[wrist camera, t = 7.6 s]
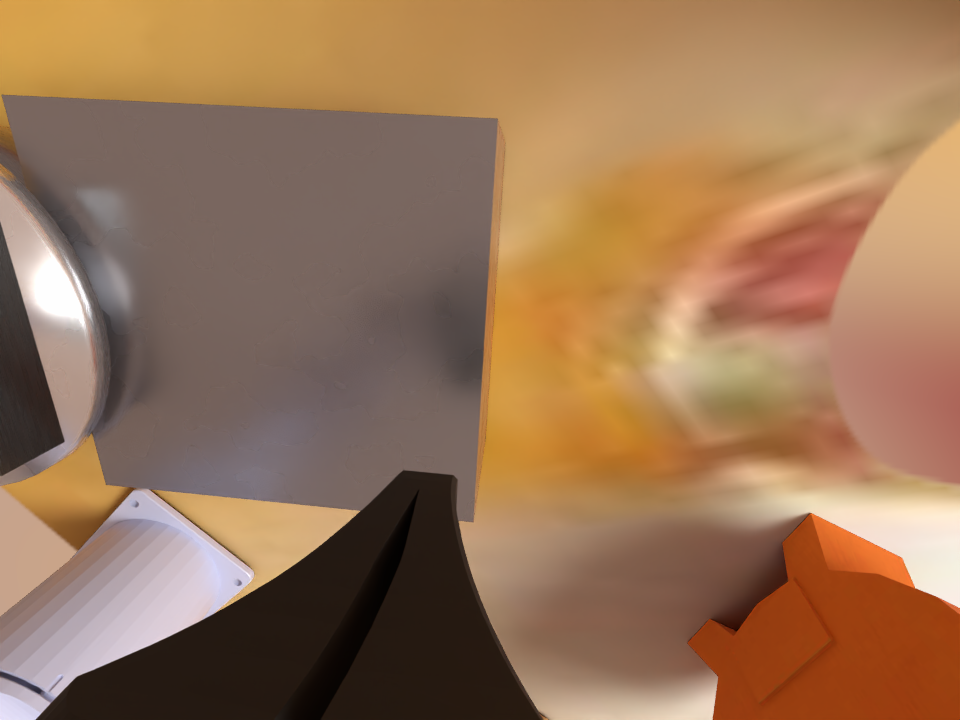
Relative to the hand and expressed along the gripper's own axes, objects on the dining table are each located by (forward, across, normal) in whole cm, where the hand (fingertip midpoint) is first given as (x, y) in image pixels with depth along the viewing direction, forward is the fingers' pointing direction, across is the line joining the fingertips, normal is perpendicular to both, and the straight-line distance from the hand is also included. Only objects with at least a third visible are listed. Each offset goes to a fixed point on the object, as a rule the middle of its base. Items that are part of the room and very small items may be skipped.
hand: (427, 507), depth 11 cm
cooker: (+10, +13, -3) cm, 17 cm away
